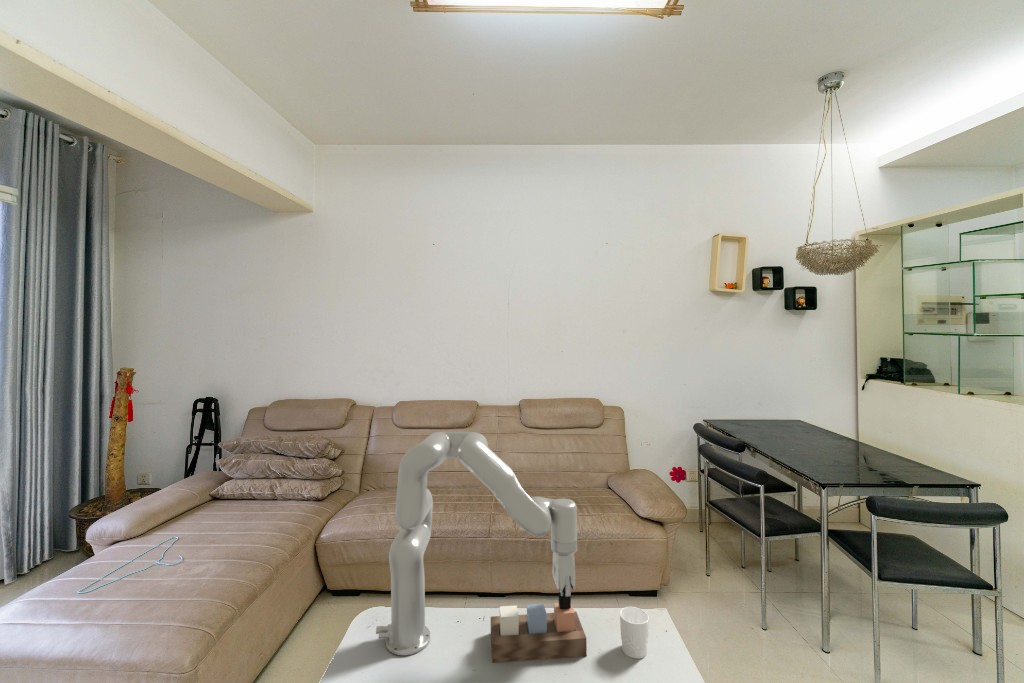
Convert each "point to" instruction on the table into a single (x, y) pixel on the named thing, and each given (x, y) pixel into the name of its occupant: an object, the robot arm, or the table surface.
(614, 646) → the table surface
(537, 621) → the slate key
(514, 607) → the cream key
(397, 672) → the table surface
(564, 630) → the peach block
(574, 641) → the brown long flat block
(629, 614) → the white cup
